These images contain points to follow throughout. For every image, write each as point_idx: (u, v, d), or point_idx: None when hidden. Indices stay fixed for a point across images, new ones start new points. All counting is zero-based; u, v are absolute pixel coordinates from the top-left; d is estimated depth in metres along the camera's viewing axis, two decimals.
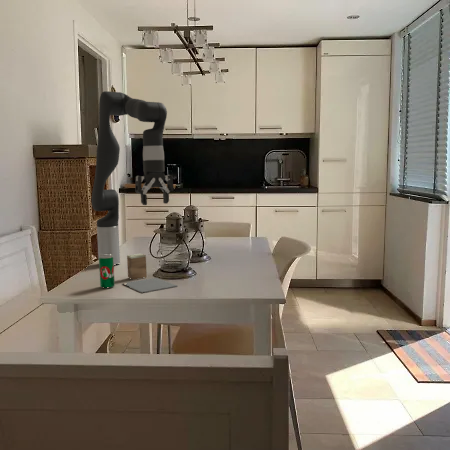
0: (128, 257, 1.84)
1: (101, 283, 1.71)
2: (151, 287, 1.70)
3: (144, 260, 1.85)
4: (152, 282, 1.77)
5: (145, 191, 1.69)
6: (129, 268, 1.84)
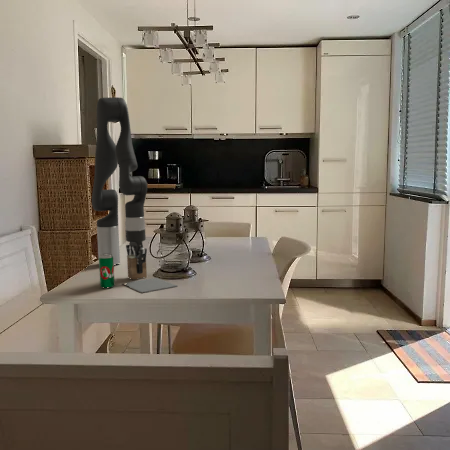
0: (128, 257, 1.84)
1: (101, 283, 1.71)
2: (151, 287, 1.70)
3: None
4: (152, 282, 1.77)
5: None
6: (129, 268, 1.84)
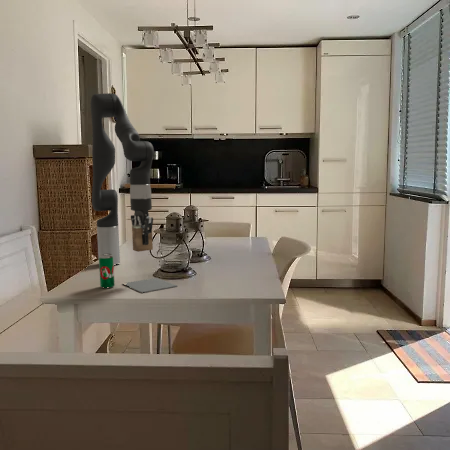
0: (133, 227, 1.73)
1: (101, 283, 1.71)
2: (151, 287, 1.70)
3: None
4: (152, 282, 1.77)
5: None
6: (134, 239, 1.74)
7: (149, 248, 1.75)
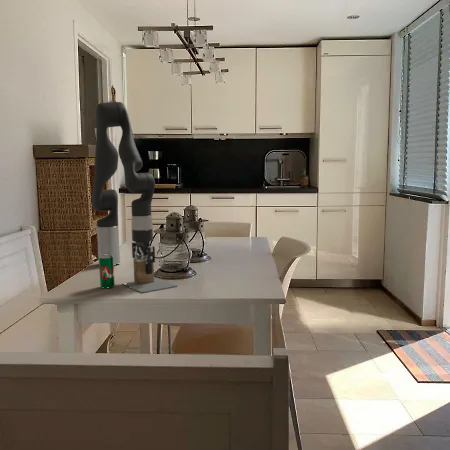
0: (135, 260, 1.75)
1: (101, 283, 1.71)
2: (151, 287, 1.70)
3: None
4: (152, 282, 1.77)
5: None
6: (136, 272, 1.75)
7: (150, 281, 1.77)
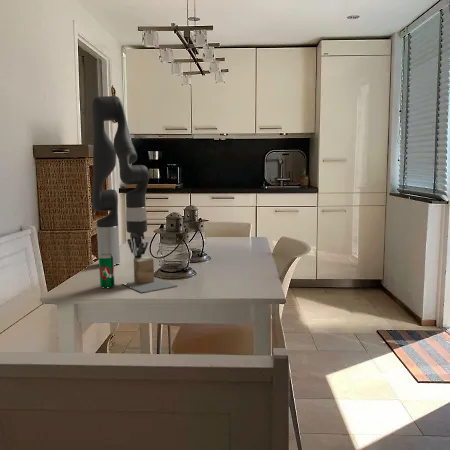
0: (135, 260, 1.75)
1: (101, 283, 1.71)
2: (151, 287, 1.70)
3: (152, 264, 1.76)
4: (152, 282, 1.77)
5: None
6: (136, 272, 1.75)
7: (150, 281, 1.77)
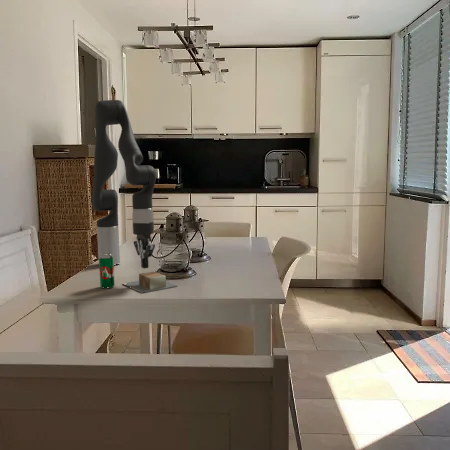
0: (149, 281, 1.67)
1: (101, 283, 1.71)
2: None
3: None
4: None
5: None
6: (144, 280, 1.70)
7: None
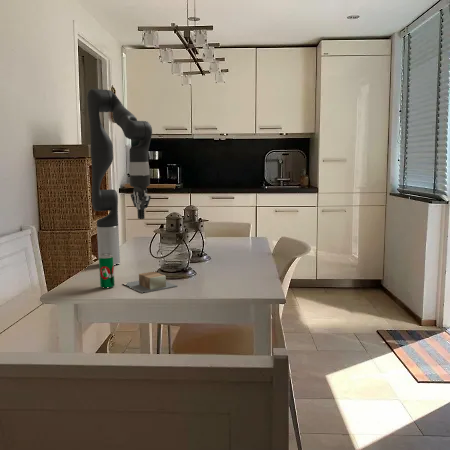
0: (149, 281, 1.67)
1: (101, 283, 1.71)
2: None
3: None
4: None
5: None
6: (144, 280, 1.70)
7: None
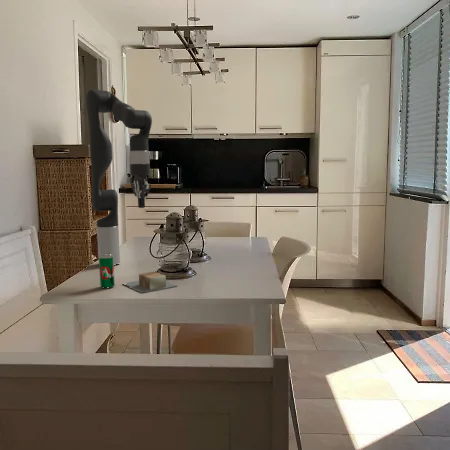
0: (149, 281, 1.67)
1: (101, 283, 1.71)
2: None
3: None
4: None
5: None
6: (144, 280, 1.70)
7: None
